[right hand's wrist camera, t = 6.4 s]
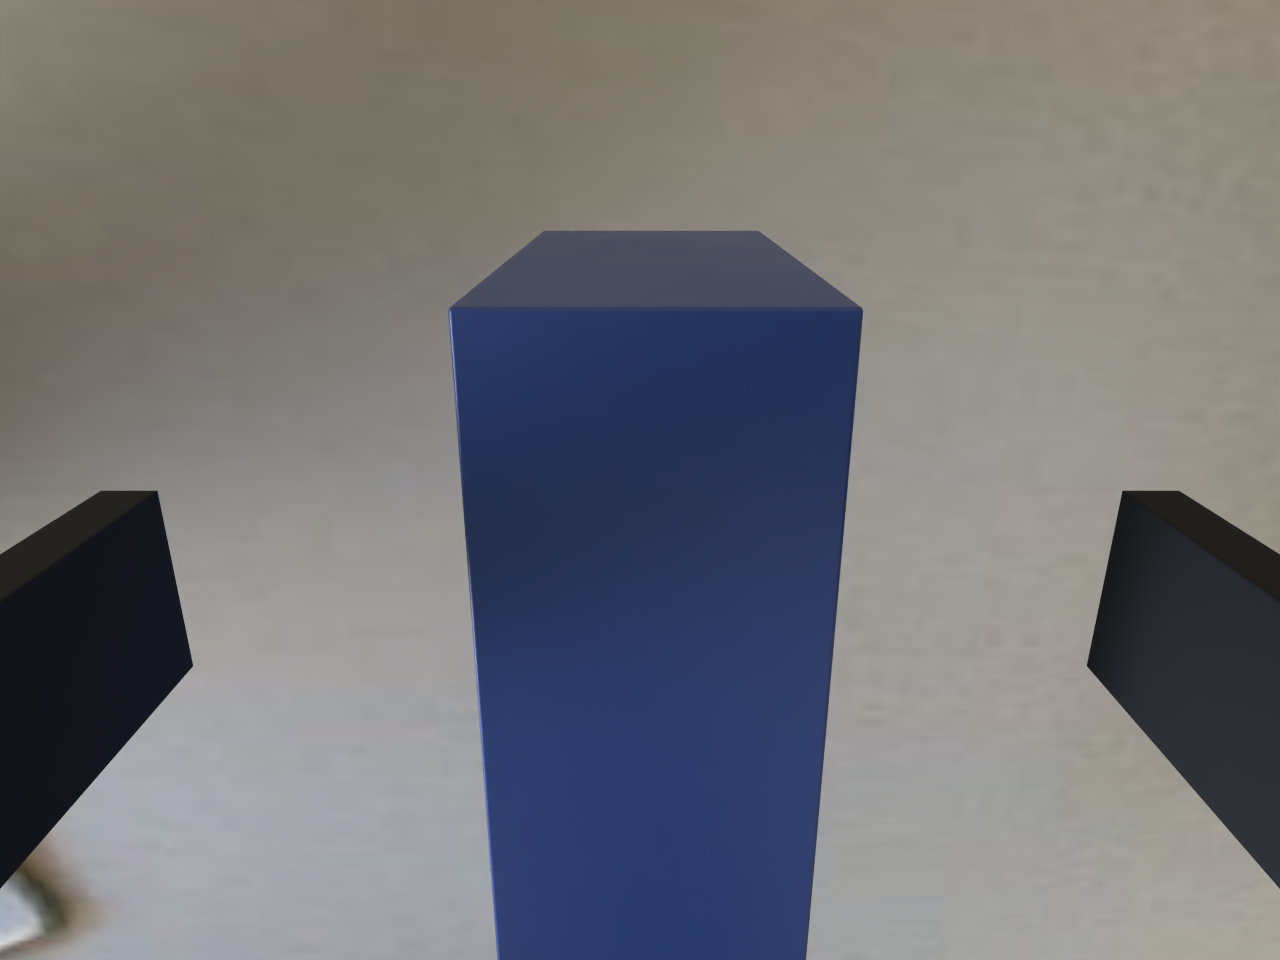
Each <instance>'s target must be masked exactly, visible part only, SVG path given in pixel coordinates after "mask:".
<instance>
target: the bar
mask: <svg viewBox="0 0 1280 960" xmlns="http://www.w3.org/2000/svg"><path fill="white" fill-rule="evenodd" d="M448 313H449V326H450V339H451V352H452V365H453V379H454V392H455V405H456V418H457V431H458V444H459V457H460V471H461V484H462V497H463V510H464V523H465V536H466V549H467V563H468V576H469V589H470V602H471V615H472V628H473V642H474V655H475V668H476V681H477V694H478V707H479V720H480V734H481V747H482V760H483V773H484V786H485V799H486V813H487V826H488V839H489V852H490V865H491V878H492V891H493V905H494V918H495V931H496V944H497V957H498V960H806V953H807V942H808V930H809V919H810V908H811V896H812V885H813V874H814V862H815V851H816V840H817V828H818V817H819V806H820V794H821V783H822V772H823V760H824V749H825V738H826V726H827V715H828V704H829V692H830V681H831V670H832V658H833V647H834V636H835V624H836V613H837V602H838V590H839V579H840V568H841V556H842V545H843V534H844V522H845V511H846V500H847V488H848V477H849V466H850V454H851V443H852V432H853V420H854V409H855V398H856V386H857V375H858V364H859V352H860V341H861V330H862V318H863V310H862V308H861V307H860V306H858V305H857V304H856V303H854V302H853V301H852V300H850V299H849V298H848V297H846V296H845V295H844V294H842V293H841V292H840V291H838V290H837V289H836V288H834V287H833V286H832V285H830V284H829V283H828V282H826V281H825V280H824V279H822V278H821V277H820V276H818V275H817V274H816V273H814V272H813V271H811V270H810V269H809V268H807V267H806V266H805V265H803V264H802V263H801V262H799V261H798V260H797V259H795V258H794V257H793V256H791V255H790V254H789V253H787V252H786V251H785V250H783V249H782V248H781V247H779V246H778V245H777V244H775V243H774V242H773V241H771V240H770V239H769V238H767V237H766V236H764V235H763V234H762V233H760V232H759V231H544V232H542V233H541V234H540V235H539V236H537V237H536V238H535V239H534V240H532V241H531V242H530V243H529V244H528V245H526V246H525V247H524V248H523V249H521V250H520V251H519V252H518V253H516V254H515V255H514V256H513V257H511V258H510V259H509V260H508V261H507V262H505V263H504V264H503V265H502V266H500V267H499V268H498V269H497V270H495V271H494V272H493V273H492V274H490V275H489V276H488V277H487V278H486V279H484V280H483V281H482V282H481V283H479V284H478V285H477V286H476V287H474V288H473V289H472V290H471V291H469V292H468V293H467V294H466V295H465V296H463V297H462V298H461V299H460V300H458V301H457V302H456V303H455V304H453V305H452V306H451V307H450V308H449V311H448Z"/></svg>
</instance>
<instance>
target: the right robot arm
mask: <svg viewBox="0 0 1280 960" xmlns="http://www.w3.org/2000/svg"><path fill="white" fill-rule="evenodd" d="M192 667H193V663H192V658H191V653H190V648H189V643H188V638H187V634H186V629H185V624H184V619H183V614H182V609H181V604H180V599H179V594H178V590H177V585H176V580H175V575H174V570H173V565H172V560H171V555H170V550H169V545H168V541H167V536H166V531H165V526H164V521H163V516H162V511H161V506H160V501H159V497H158V492H157V491H100V492H98V493H97V494H95V495H94V496H92V497H90V498H89V499H87V500H86V501H84V502H83V503H81V504H79V505H78V506H76V507H75V508H73V509H71V510H70V511H68V512H67V513H65V514H64V515H62V516H60V517H59V518H57V519H56V520H54V521H52V522H51V523H49V524H48V525H46V526H45V527H43V528H41V529H40V530H38V531H37V532H35V533H33V534H32V535H30V536H29V537H27V538H26V539H24V540H22V541H21V542H19V543H18V544H16V545H15V546H13V547H11V548H10V549H8V550H7V551H5V552H3V553H2V554H0V888H1V887H2V886H3V885H4V884H5V882H6V881H7V880H8V879H9V878H10V877H11V876H12V874H13V873H14V872H15V871H16V870H17V869H18V867H19V866H20V865H21V864H22V863H23V862H24V861H25V859H26V858H27V857H28V856H29V855H30V854H31V852H32V851H33V850H34V849H35V848H36V847H37V846H38V844H39V843H40V842H41V841H42V840H43V839H44V837H45V836H46V835H47V834H48V833H49V832H50V831H51V829H52V828H53V827H54V826H55V825H56V824H57V822H58V821H59V820H60V819H61V818H62V817H63V816H64V814H65V813H66V812H67V811H68V810H69V809H70V807H71V806H72V805H73V804H74V803H75V802H76V801H77V799H78V798H79V797H80V796H81V795H82V794H83V792H84V791H85V790H86V789H87V788H88V787H89V786H90V784H91V783H92V782H93V781H94V780H95V779H96V777H97V776H98V775H99V774H100V773H101V772H102V771H103V769H104V768H105V767H106V766H107V765H108V764H109V762H110V761H111V760H112V759H113V758H114V757H115V756H116V754H117V753H118V752H119V751H120V750H121V749H122V747H123V746H124V745H125V744H126V743H127V742H128V741H129V739H130V738H131V737H132V736H133V735H134V734H135V732H136V731H137V730H138V729H139V728H140V727H141V726H142V724H143V723H144V722H145V721H146V720H147V719H148V717H149V716H150V715H151V714H152V713H153V712H154V711H155V709H156V708H157V707H158V706H159V705H160V704H161V702H162V701H163V700H164V699H165V698H166V697H167V696H168V694H169V693H170V692H171V691H172V690H173V689H174V687H175V686H176V685H177V684H178V683H179V682H180V681H181V679H182V678H183V677H184V676H185V675H186V674H187V672H188V671H189V670H190V669H191V668H192ZM1087 667H1088V668H1089V669H1090V670H1091V671H1092V672H1093V674H1094V675H1095V676H1096V677H1097V678H1098V679H1099V681H1100V682H1101V683H1102V684H1103V685H1104V686H1105V687H1106V689H1107V690H1108V691H1109V692H1110V693H1111V694H1112V696H1113V697H1114V698H1115V699H1116V700H1117V701H1118V702H1119V704H1120V705H1121V706H1122V707H1123V708H1124V709H1125V711H1126V712H1127V713H1128V714H1129V715H1130V716H1131V717H1132V719H1133V720H1134V721H1135V722H1136V723H1137V724H1138V726H1139V727H1140V728H1141V729H1142V730H1143V731H1144V732H1145V734H1146V735H1147V736H1148V737H1149V738H1150V739H1151V741H1152V742H1153V743H1154V744H1155V745H1156V746H1157V747H1158V749H1159V750H1160V751H1161V752H1162V753H1163V754H1164V756H1165V757H1166V758H1167V759H1168V760H1169V761H1170V762H1171V764H1172V765H1173V766H1174V767H1175V768H1176V769H1177V771H1178V772H1179V773H1180V774H1181V775H1182V776H1183V777H1184V779H1185V780H1186V781H1187V782H1188V783H1189V784H1190V786H1191V787H1192V788H1193V789H1194V790H1195V791H1196V792H1197V794H1198V795H1199V796H1200V797H1201V798H1202V799H1203V801H1204V802H1205V803H1206V804H1207V805H1208V806H1209V807H1210V809H1211V810H1212V811H1213V812H1214V813H1215V814H1216V816H1217V817H1218V818H1219V819H1220V820H1221V821H1222V822H1223V824H1224V825H1225V826H1226V827H1227V828H1228V829H1229V831H1230V832H1231V833H1232V834H1233V835H1234V836H1235V837H1236V839H1237V840H1238V841H1239V842H1240V843H1241V844H1242V846H1243V847H1244V848H1245V849H1246V850H1247V851H1248V852H1249V854H1250V855H1251V856H1252V857H1253V858H1254V859H1255V861H1256V862H1257V863H1258V864H1259V865H1260V866H1261V867H1262V869H1263V870H1264V871H1265V872H1266V873H1267V874H1268V876H1269V877H1270V878H1271V879H1272V880H1273V881H1274V882H1275V884H1276V885H1277V886H1278V887H1279V888H1280V554H1278V553H1277V552H1275V551H1273V550H1272V549H1270V548H1269V547H1267V546H1265V545H1264V544H1262V543H1261V542H1259V541H1258V540H1256V539H1254V538H1253V537H1251V536H1250V535H1248V534H1247V533H1245V532H1243V531H1242V530H1240V529H1239V528H1237V527H1235V526H1234V525H1232V524H1231V523H1229V522H1228V521H1226V520H1224V519H1223V518H1221V517H1220V516H1218V515H1216V514H1215V513H1213V512H1212V511H1210V510H1209V509H1207V508H1205V507H1204V506H1202V505H1201V504H1199V503H1197V502H1196V501H1194V500H1193V499H1191V498H1190V497H1188V496H1186V495H1185V494H1183V493H1182V492H1180V491H1123V492H1122V497H1121V501H1120V506H1119V511H1118V516H1117V521H1116V526H1115V531H1114V536H1113V541H1112V545H1111V550H1110V555H1109V560H1108V565H1107V570H1106V575H1105V580H1104V585H1103V590H1102V594H1101V599H1100V604H1099V609H1098V614H1097V619H1096V624H1095V629H1094V634H1093V638H1092V643H1091V648H1090V653H1089V658H1088V663H1087Z"/></svg>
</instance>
